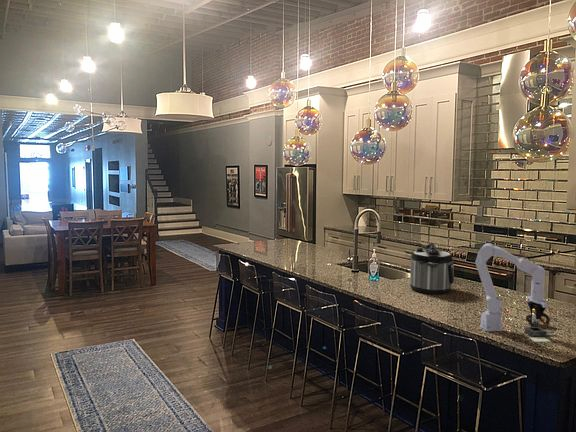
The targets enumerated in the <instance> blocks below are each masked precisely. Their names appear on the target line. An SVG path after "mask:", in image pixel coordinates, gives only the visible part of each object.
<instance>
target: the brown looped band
mask: <svg viewBox="0 0 576 432" xmlns="http://www.w3.org/2000/svg"><path fill="white" fill-rule="evenodd" d="M544 318H545V319H544ZM545 320H546V321H545ZM525 321H526V322H528V325H532V324H533V323H532V316H531V314H527V315H526V316H525ZM539 322H541V323H542V325H541V329H545V328H547V327H548V326H550V322H551V318H550V317H549V315H548V314H546V313H544V312H543V314H542V317H541V319H539Z"/></svg>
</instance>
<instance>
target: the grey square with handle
mask: <svg viewBox="0 0 576 432" xmlns="http://www.w3.org/2000/svg"><path fill="white" fill-rule="evenodd" d="M523 333H524V334H525V333H526V335H527V334H528V335H527V336H529V337H530V336H531V337H530V338H532V337H545V338H547V335H548V334H555V329H544V328H542V327H539V326H525V327H524V332H523Z"/></svg>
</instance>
